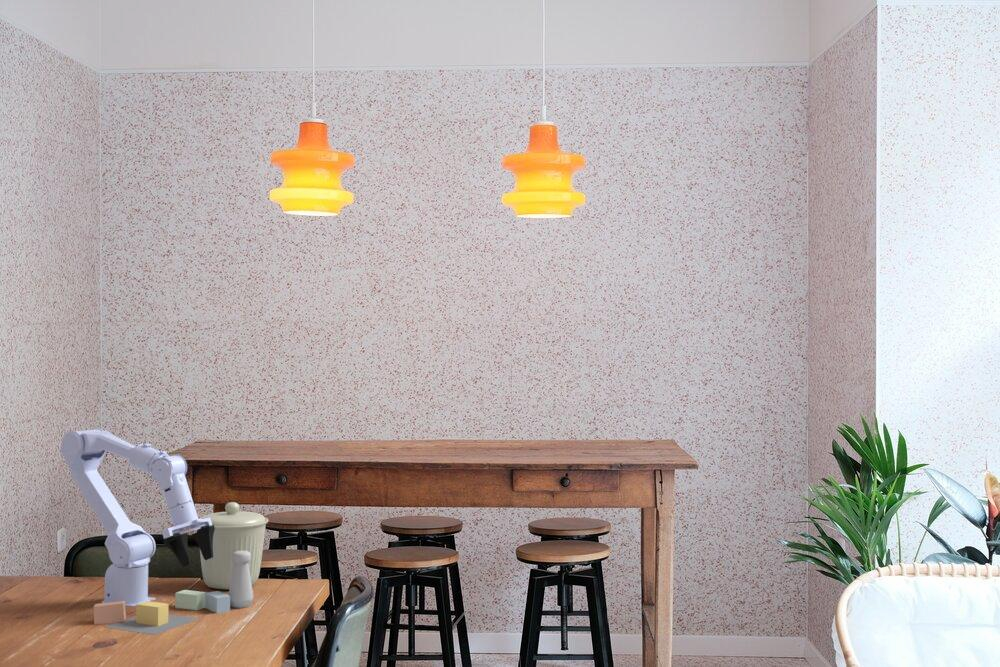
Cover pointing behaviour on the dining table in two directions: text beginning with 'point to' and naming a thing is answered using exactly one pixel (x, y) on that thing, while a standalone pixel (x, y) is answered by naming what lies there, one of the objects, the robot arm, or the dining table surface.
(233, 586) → the salt shaker
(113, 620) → the terracotta brick
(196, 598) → the green brick
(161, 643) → the dining table surface
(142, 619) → the mustard brick
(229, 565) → the canister
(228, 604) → the slate brick
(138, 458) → the robot arm
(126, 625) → the felt mat
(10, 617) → the dining table surface
